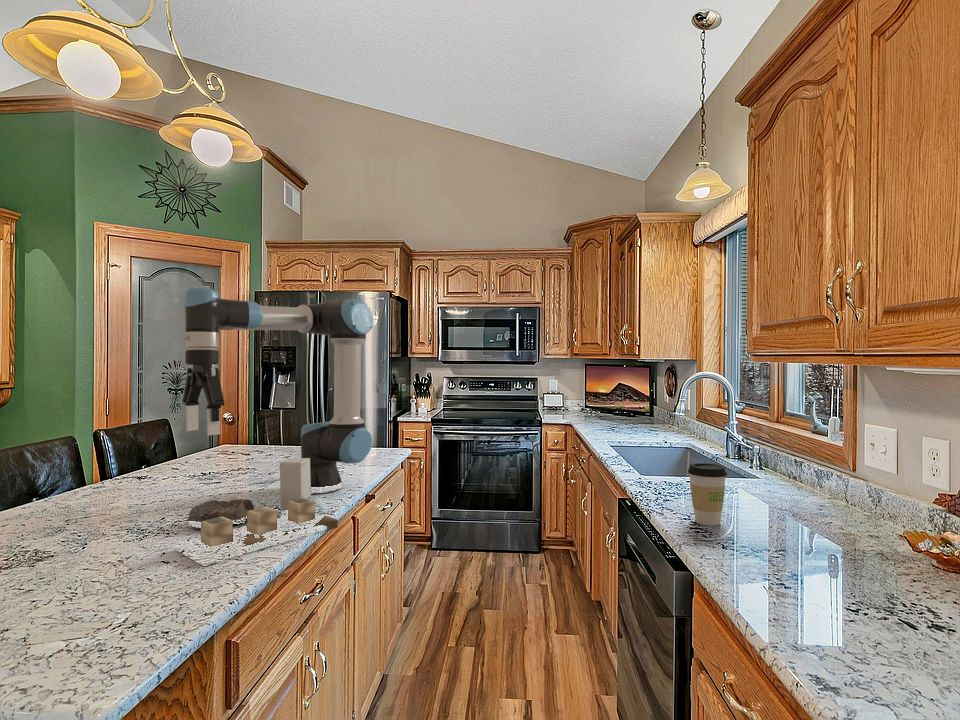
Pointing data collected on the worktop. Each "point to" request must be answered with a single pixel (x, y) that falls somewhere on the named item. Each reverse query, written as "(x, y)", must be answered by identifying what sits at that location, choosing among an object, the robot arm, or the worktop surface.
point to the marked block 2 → (301, 510)
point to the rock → (221, 510)
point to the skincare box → (294, 480)
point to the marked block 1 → (216, 531)
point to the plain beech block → (261, 520)
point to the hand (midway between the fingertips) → (202, 432)
